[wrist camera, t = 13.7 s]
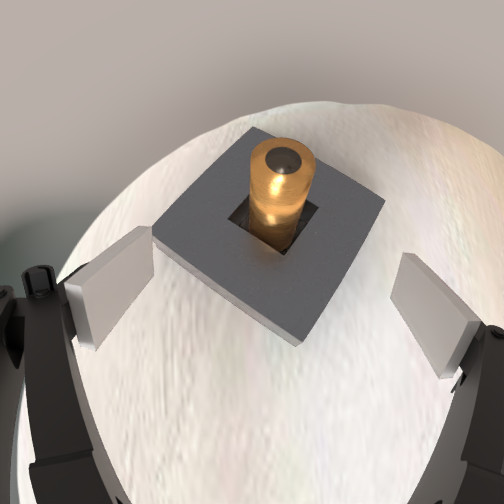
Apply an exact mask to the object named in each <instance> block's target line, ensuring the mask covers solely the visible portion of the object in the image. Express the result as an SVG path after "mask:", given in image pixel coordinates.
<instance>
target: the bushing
mask: <svg viewBox="0 0 504 504" xmlns="http://www.w3.org/2000/svg"><path fill="white" fill-rule="evenodd" d="M315 169H316V161H315V158H314V156H313V154H312V152H311V151H310V150H309V149H308V148H307V147H306V146H304V145H303V144H301V143H300V142H298V141H295V140H292V139H288V138H271V139H268V140H265V141H263V142H261V143H260V144H258V145H257V146H256V147H255V148H254V150H253V151H252V154H251V163H250V197H249V233H250V234H251V235H253V236H255V237H256V238H258V239H259V240H261V241H262V242H264V243H265V244H267V245H268V246H270V247H272V248H273V249H275V250H276V251H278V252H280V251H282V250H284V249H286V248H287V247H288V246H289V245H290V244H291V242H292V240H293V237H294V234H295V231H296V228H297V225H298V222H299V219H300V216H301V213H302V210H303V207H304V204H305V201H306V197H307V194H308V191H309V188H310V185H311V182H312V179H313V175H314V172H315Z"/></svg>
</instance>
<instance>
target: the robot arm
mask: <svg viewBox="0 0 504 504" xmlns="http://www.w3.org/2000/svg"><path fill="white" fill-rule="evenodd" d="M153 276H154V267H153V247H152V227H147V226H138V227H136V228H135V229H133V230H132V231H131V232H129V233H128V234H126V235H125V236H124V237H122V238H121V239H120V240H118V241H117V242H116V243H114V244H113V245H112V246H110V247H109V248H108V249H106V250H105V251H104V252H102V253H101V254H100V255H98V256H97V257H96V258H94V259H93V260H92V261H91V262H88V263H86V264H83V265H81V266H80V267H78V268H77V269H76V270H74V272H72V273H71V274H69V276H67V277H66V278H64V279H63V280H62V281H61V282H59V283H58V284H57V283H56V278H55V273H54V269H53V267H51V266H49V265H37V266H34V267H31V268H29V269H27V270H25V271H24V272H23V273H22V275H21V277H22V281H23V285H24V289H25V293H26V298H16V297H15V293H14V290H13V288H12V287H11V286H5V285H4V286H0V504H10V467H11V454H12V444H13V434H14V427H15V420H16V414H17V408H18V403H19V398H20V392H21V388H22V383H23V379H24V375H25V385H26V398H27V408H28V416H29V423H30V430H31V436H32V442H33V447H34V452H35V459H36V460H35V463H30V465H29V475H30V480H31V484H32V488H33V492H34V495H35V499H36V502H37V504H132V503H131V502H130V500H129V499H128V497H127V495H126V493H125V491H124V489H123V487H122V485H121V483H120V481H119V479H118V477H117V475H116V473H115V471H114V468H113V466H112V464H111V462H110V459H109V457H108V455H107V452H106V450H105V448H104V445H103V443H102V440H101V437H100V435H99V432H98V429H97V427H96V424H95V421H94V418H93V415H92V412H91V409H90V406H89V403H88V400H87V397H86V393H85V390H84V387H83V383H82V380H81V376H80V372H79V368H78V364H77V360H76V356H75V352H74V347H73V344H72V341H71V340H72V339H73V338H74V337H75V335H76V334H77V338H78V341H79V345H80V347H83V348H87V349H90V350H94V351H97V349H98V348H99V347H100V345H101V344H102V342H103V341H104V340H105V338H106V337H107V336H108V334H109V333H110V332H111V330H112V329H113V328H114V326H115V325H116V324H117V322H118V321H119V320H120V318H121V317H122V316H123V314H124V313H125V312H126V310H127V309H128V308H129V306H130V305H131V304H132V303H133V301H134V300H135V299H136V297H137V296H138V295H139V294H140V292H141V291H142V290H143V289H144V287H145V286H146V285H147V284H148V282H149V281H150V280H151V279H152V277H153ZM390 299H391V300H392V302H393V303H394V305H395V307H396V308H397V310H398V311H399V313H400V314H401V316H402V318H403V319H404V321H405V322H406V324H407V326H408V327H409V329H410V330H411V332H412V334H413V335H414V337H415V339H416V340H417V342H418V344H419V345H420V347H421V349H422V350H423V352H424V354H425V356H426V357H427V359H428V361H429V363H430V364H431V366H432V368H433V370H434V371H435V373H436V375H437V377H438V379H444V378H452V377H453V376H454V374H455V372H456V370H457V369H458V367H459V366H460V367H461V369H462V371H463V372H462V374H461V376H460V377H459V379H458V381H457V382H456V384H455V386H454V387H453V389H452V390H451V393H453V392H454V390H455V393H454V397H453V400H452V403H451V406H450V409H449V412H448V415H447V418H446V421H445V424H444V426H443V429H442V432H441V434H440V437H439V439H438V442H437V444H436V447H435V449H434V451H433V454H432V456H431V458H430V461H429V463H428V465H427V467H426V469H425V471H424V473H423V475H422V477H421V479H420V481H419V483H418V485H417V487H416V489H415V491H414V493H413V495H412V496H411V498H410V500H409V502H408V503H407V504H504V330H503V329H502V328H500V327H497V326H494V325H488V326H486V325H485V324H484V323H483V322H482V321H481V319H480V318H479V317H478V316H477V315H476V314H475V313H474V312H473V311H472V310H471V309H470V308H469V307H468V305H467V304H466V303H465V302H464V301H463V300H462V299H461V298H460V297H459V296H458V295H457V294H456V293H455V292H454V291H453V290H452V289H451V288H450V287H449V286H448V285H447V284H446V283H445V282H444V281H443V280H442V279H441V278H440V277H439V276H438V275H437V274H436V273H435V272H434V271H433V270H431V269H430V268H429V267H428V266H427V265H426V264H425V263H424V262H423V261H422V260H421V259H420V258H419V257H418V256H416V255H415V254H412V253H404V252H403V254H402V258H401V262H400V265H399V269H398V273H397V276H396V280H395V283H394V287H393V290H392V293H391V296H390Z"/></svg>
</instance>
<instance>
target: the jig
mask: <svg viewBox="0 0 504 504" xmlns="http://www.w3.org/2000/svg"><path fill="white" fill-rule="evenodd" d="M271 138H276V137H274V136H272V135H270V134H268V133H266V132H264V131H262V130H260V129H258V128H256V127H252V128H251V129H250V130H248V131H247V132H246V133H245V134H244V135H243V136H242V137H241V138H240V139H238V140H237V141H236V142H235V143H234V144H233V145H232V146H231V147H230V148H229V149H228V150H227V151H226V152H224V153H223V154H222V155H221V156H220V157H219V158H218V159H217V160H216V161H215V162H214V163H213V164H212V165H211V166H210V167H209V168H208V169H207V170H206V171H205V172H204V173H203V174H202V175H201V176H200V177H199V178H198V179H197V180H196V181H195V182H194V183H193V184H192V185H191V186H190V187H189V188H188V189H187V190H186V191H185V192H184V193H183V194H182V195H181V196H180V197H179V198H178V199H177V200H176V201H175V202H174V203H173V204H172V205H171V206H170V207H169V208H168V209H167V211H166V212H165V213H164V214H163V215H162V216H161V217H160V218H159V219H158V220H157V221H156V222H155V224H154V225H153V226H152V240H153V241H154V243H155V244H156V246H157V247H158V249H160V250H161V251H162V252H164V253H165V254H166V255H168V256H169V257H170V258H171V259H173V260H174V261H175V262H177V263H178V264H179V265H181V266H182V267H183V268H185V269H186V270H187V271H189V272H190V273H191V274H193V275H194V276H195V277H197V278H198V279H199V280H201V281H202V282H203V283H205V284H206V285H207V286H209V287H210V288H211V289H213V290H214V291H216V292H217V293H218V294H220V295H221V296H223V297H224V298H225V299H227V300H228V301H229V302H231V303H232V304H234V305H235V306H236V307H238V308H239V309H241V310H242V311H244V312H245V313H246V314H248V315H249V316H251V317H252V318H254V319H255V320H256V321H258V322H259V323H261V324H262V325H264V326H265V327H267V328H268V329H269V330H271V331H272V332H274V333H275V334H277V335H278V336H280V337H281V338H283V339H284V340H286V341H287V342H289V343H290V344H292V345H293V346H295V347H296V346H298V345H299V344H301V343H302V342H303V341H304V340H305V338H306V337H307V335H308V334H309V332H310V331H311V329H312V327H313V326H314V324H315V323H316V321H317V320H318V318H319V317H320V315H321V313H322V312H323V310H324V309H325V307H326V306H327V304H328V302H329V301H330V299H331V297H332V296H333V294H334V293H335V291H336V289H337V288H338V286H339V284H340V283H341V281H342V279H343V278H344V276H345V274H346V272H347V271H348V269H349V267H350V266H351V264H352V262H353V260H354V259H355V257H356V255H357V253H358V251H359V250H360V248H361V246H362V244H363V242H364V241H365V239H366V237H367V235H368V233H369V231H370V230H371V228H372V226H373V224H374V222H375V220H376V218H377V216H378V214H379V212H380V210H381V208H382V207H383V205H384V203H385V201H386V200H384V199H383V198H381V197H380V196H378V195H377V194H375V193H373V192H372V191H370V190H369V189H367V188H366V187H364V186H362V185H361V184H359V183H357V182H356V181H354V180H353V179H351V178H349V177H348V176H346V175H344V174H342V173H341V172H339V171H337V170H336V169H334V168H332V167H330V166H329V165H327V164H325V163H323V162H322V161H320V160H318V159H316V158H315V161H316V169H315V172H314V175H313V179H312V182H311V185H310V188H309V191H308V194H307V197H306V201H305V204H304V207H303V210H302V213H301V216H300V219H301V220H303V221H305V222H306V223H308V224H307V225H306V226H305V228H304V229H303V231H302V232H301V233H300V235H299V236H298V238H297V239H296V240H295V242H294V243H293V245H292V246H291V247H290V249H289V250H288V251H287V253H286V254H285V256H284V255H282V254H281V253H279V252H278V251H276V250H275V249H273V248H272V247H270V246H268V245H267V244H265V243H264V242H262V241H261V240H259V239H258V238H256V237H255V236H253V235H251V234H250V233H248V232H247V231H245V230H244V229H242V228H241V227H239V225H240V224H241V223H242V222H243V221H244V219H245V218H246V217H247V216H248V215H249V197H250V163H251V154H252V151H253V150H254V148H255V147H256V146H257V145H258V144H260V143H261V142H263V141H265V140H268V139H271Z"/></svg>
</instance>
